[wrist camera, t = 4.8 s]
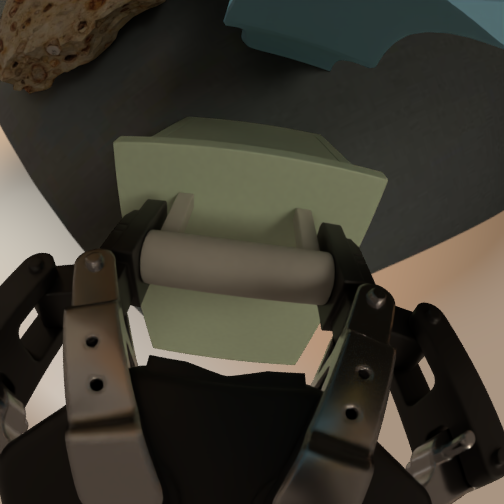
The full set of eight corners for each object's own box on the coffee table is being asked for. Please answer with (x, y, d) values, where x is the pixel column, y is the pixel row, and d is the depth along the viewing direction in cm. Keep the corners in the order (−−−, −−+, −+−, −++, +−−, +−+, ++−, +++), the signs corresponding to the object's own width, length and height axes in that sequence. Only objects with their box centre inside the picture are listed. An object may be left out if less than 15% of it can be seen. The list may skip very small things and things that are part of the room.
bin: (187, 116, 22) (138, 143, 13) (320, 134, 22) (362, 174, 14) (181, 262, 30) (155, 339, 22) (286, 276, 31) (294, 356, 22)
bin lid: (120, 135, 11) (48, 201, 6) (382, 171, 11) (436, 252, 7) (155, 339, 21) (140, 399, 17) (294, 356, 22) (296, 417, 18)
